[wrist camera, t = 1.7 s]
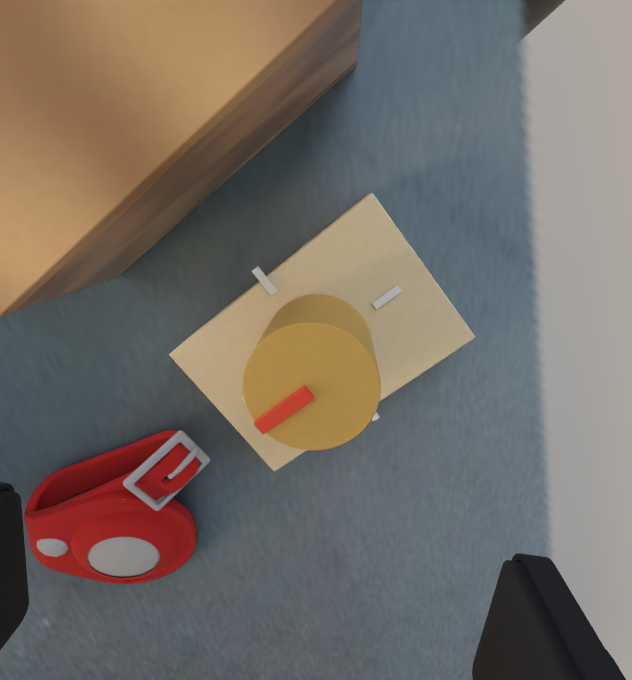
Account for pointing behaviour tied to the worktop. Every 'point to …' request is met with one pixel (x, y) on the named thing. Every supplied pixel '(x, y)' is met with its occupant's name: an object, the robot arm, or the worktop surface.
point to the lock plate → (341, 282)
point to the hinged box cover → (116, 108)
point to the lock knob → (313, 374)
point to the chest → (215, 156)
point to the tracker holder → (118, 512)
